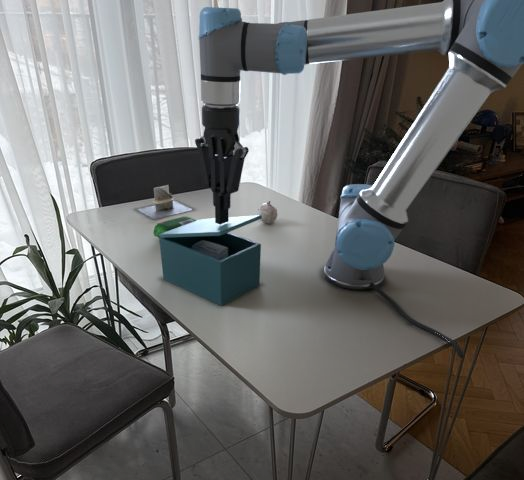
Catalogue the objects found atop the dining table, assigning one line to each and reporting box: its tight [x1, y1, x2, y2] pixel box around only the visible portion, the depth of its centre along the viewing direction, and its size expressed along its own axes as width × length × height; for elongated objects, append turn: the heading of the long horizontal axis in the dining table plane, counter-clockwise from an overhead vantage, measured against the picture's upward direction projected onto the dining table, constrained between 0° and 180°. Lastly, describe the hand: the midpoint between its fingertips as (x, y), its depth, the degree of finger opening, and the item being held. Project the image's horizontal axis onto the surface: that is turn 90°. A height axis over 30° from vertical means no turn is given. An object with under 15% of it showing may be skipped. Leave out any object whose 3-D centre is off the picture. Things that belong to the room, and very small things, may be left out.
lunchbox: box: [158, 232, 262, 307], centre depth 114 cm, size 20×14×11 cm
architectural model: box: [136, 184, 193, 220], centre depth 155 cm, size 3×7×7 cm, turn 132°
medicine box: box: [192, 240, 228, 261], centre depth 114 cm, size 8×4×9 cm, turn 57°
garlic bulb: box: [257, 200, 278, 225], centre depth 149 cm, size 7×6×8 cm
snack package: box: [153, 215, 198, 239], centre depth 137 cm, size 7×16×5 cm, turn 131°
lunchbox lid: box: [159, 214, 262, 238], centre depth 109 cm, size 20×14×1 cm
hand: (221, 222), depth 106 cm, fingers closed
